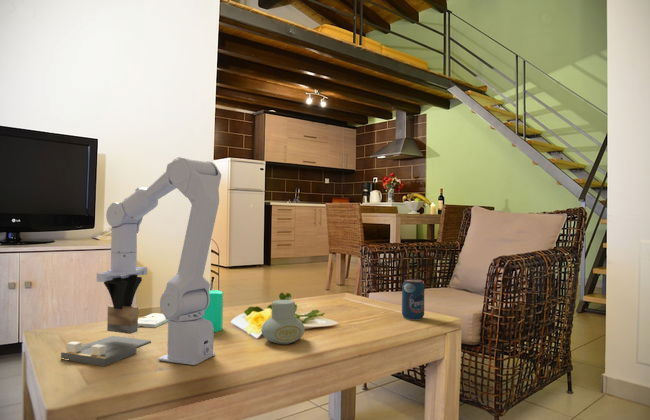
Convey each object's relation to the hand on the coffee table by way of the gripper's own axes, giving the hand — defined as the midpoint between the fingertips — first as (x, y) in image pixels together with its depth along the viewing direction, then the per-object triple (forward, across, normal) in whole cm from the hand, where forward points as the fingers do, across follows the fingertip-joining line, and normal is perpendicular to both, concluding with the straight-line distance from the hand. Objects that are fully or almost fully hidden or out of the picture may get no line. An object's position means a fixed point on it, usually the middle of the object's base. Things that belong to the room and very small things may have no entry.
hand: (122, 307), depth 108 cm
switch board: (+9, +10, +3) cm, 14 cm away
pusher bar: (+6, 0, 0) cm, 6 cm away
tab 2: (+7, +13, +6) cm, 16 cm away
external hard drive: (+10, -20, -8) cm, 24 cm away
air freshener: (+9, -16, +36) cm, 40 cm away
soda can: (+9, -54, +64) cm, 84 cm away
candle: (+9, -19, +13) cm, 25 cm away
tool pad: (+9, 0, 0) cm, 9 cm away
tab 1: (+7, +13, -1) cm, 15 cm away
